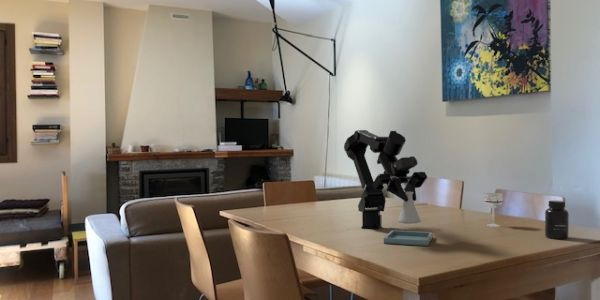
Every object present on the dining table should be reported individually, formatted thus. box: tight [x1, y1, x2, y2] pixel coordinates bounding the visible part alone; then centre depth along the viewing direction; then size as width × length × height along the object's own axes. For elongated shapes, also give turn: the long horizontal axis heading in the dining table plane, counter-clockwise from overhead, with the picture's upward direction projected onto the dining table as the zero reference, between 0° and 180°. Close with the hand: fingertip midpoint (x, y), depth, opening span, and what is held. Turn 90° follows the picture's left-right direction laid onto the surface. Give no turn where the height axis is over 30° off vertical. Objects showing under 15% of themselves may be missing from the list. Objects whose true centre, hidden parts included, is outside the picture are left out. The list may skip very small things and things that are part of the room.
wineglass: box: [483, 192, 504, 228], centre depth 177 cm, size 7×7×12 cm
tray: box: [383, 229, 433, 247], centre depth 153 cm, size 14×14×2 cm
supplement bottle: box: [544, 200, 570, 240], centre depth 154 cm, size 7×7×12 cm
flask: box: [397, 191, 421, 224], centre depth 153 cm, size 7×7×10 cm
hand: (411, 200), depth 151 cm, fingers closed on flask, 3 cm apart
